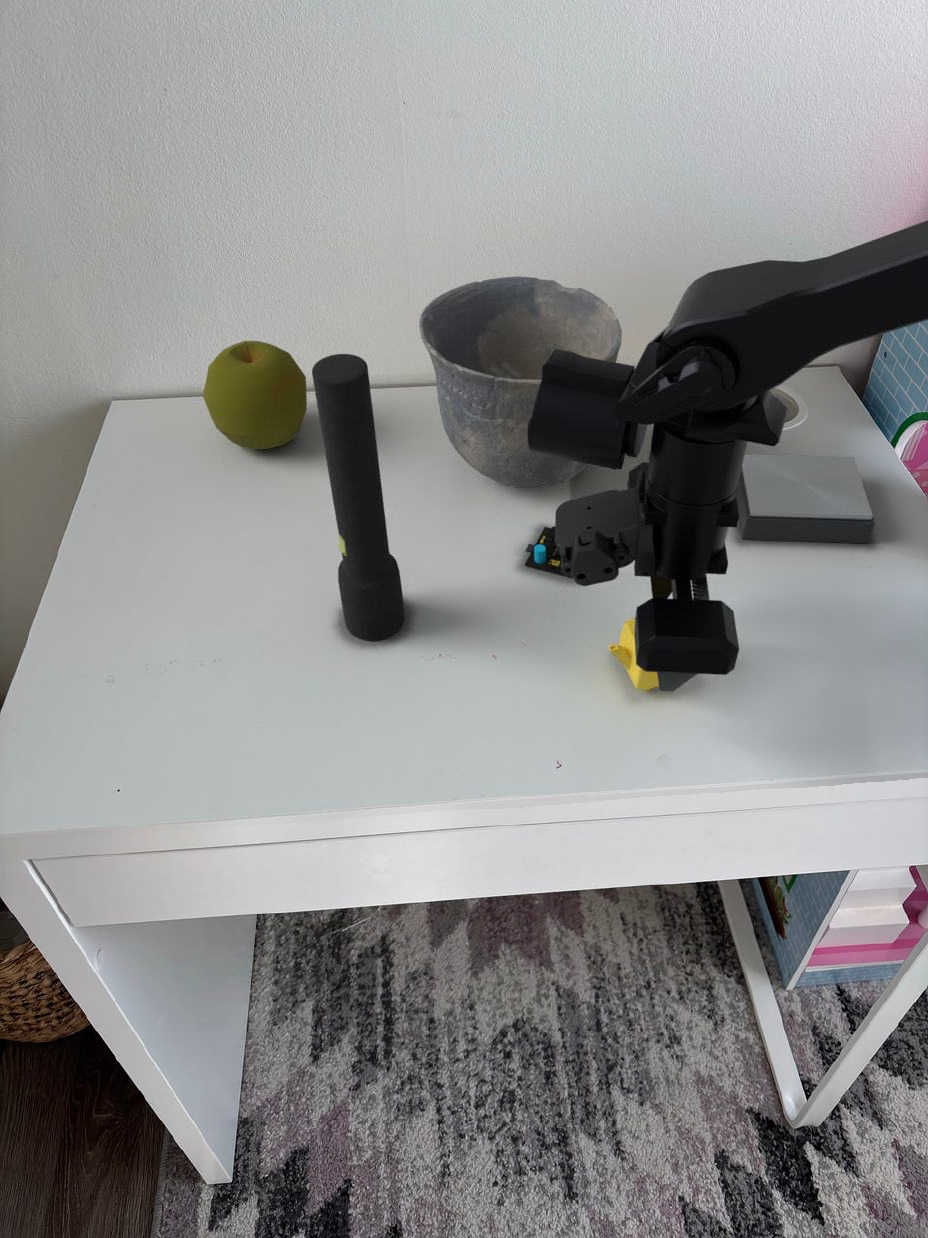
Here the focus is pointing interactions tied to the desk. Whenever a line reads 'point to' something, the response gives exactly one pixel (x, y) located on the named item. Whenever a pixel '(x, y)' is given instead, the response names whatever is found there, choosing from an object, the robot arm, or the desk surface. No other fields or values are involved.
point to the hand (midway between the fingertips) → (662, 642)
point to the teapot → (632, 658)
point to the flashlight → (358, 499)
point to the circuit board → (545, 553)
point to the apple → (256, 395)
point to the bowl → (509, 367)
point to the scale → (803, 499)
